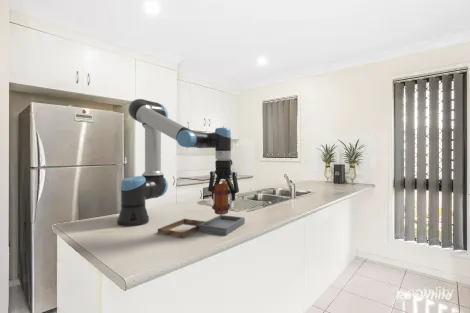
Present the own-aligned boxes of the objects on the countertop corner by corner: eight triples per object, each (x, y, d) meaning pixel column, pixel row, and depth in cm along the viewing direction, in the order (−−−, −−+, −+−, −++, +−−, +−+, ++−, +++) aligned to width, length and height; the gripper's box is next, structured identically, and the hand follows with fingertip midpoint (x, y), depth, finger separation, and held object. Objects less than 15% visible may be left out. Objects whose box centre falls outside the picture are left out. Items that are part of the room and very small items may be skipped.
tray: (199, 231, 116) (199, 224, 115) (220, 220, 135) (220, 214, 135) (226, 235, 110) (226, 228, 110) (244, 223, 129) (244, 217, 129)
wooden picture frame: (157, 233, 112) (157, 229, 112) (184, 222, 130) (184, 218, 130) (183, 237, 106) (183, 233, 106) (207, 225, 125) (207, 221, 125)
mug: (227, 216, 114) (227, 183, 114) (210, 215, 116) (210, 183, 116) (234, 209, 128) (234, 180, 128) (218, 208, 130) (218, 179, 130)
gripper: (200, 159, 123) (200, 206, 123) (240, 160, 114) (240, 210, 114) (208, 159, 130) (208, 203, 130) (246, 159, 121) (246, 206, 121)
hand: (223, 206), depth 122 cm, fingers closed on mug, 8 cm apart
